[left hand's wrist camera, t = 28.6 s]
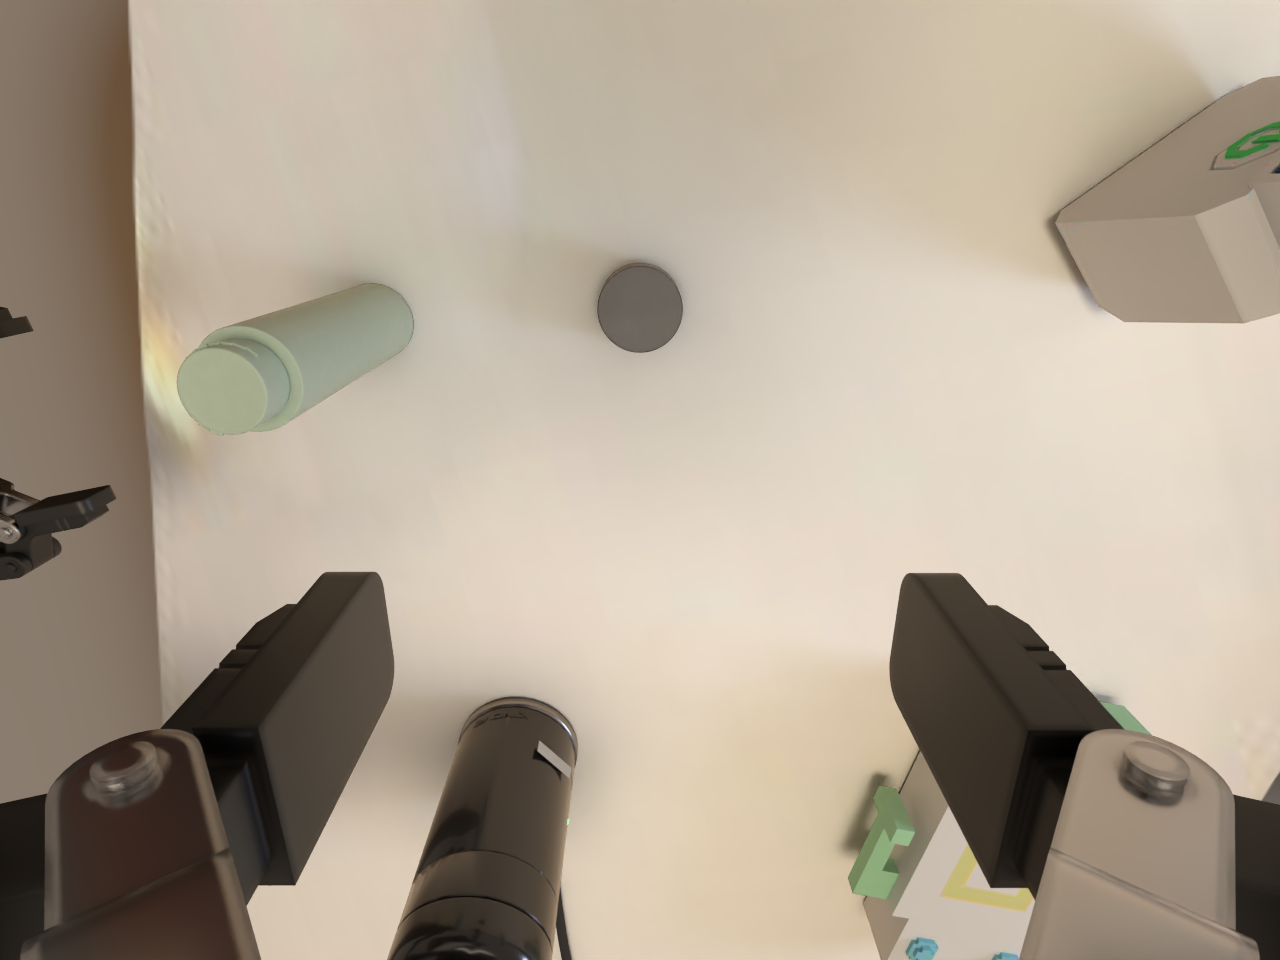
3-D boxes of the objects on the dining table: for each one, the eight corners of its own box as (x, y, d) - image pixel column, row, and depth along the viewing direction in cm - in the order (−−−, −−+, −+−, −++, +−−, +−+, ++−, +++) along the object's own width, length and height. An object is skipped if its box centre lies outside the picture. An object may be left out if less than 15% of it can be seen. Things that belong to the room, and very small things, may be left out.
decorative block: (1065, 1007, 60) (835, 967, 58) (1026, 933, 66) (817, 895, 64) (1227, 768, 51) (961, 712, 49) (1165, 708, 57) (926, 657, 55)
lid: (656, 359, 47) (656, 367, 45) (585, 321, 46) (582, 327, 44) (695, 287, 45) (698, 292, 43) (622, 247, 45) (622, 249, 42)
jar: (349, 272, 45) (171, 316, 28) (422, 299, 46) (290, 359, 29) (333, 341, 47) (155, 424, 30) (403, 367, 47) (268, 463, 30)
